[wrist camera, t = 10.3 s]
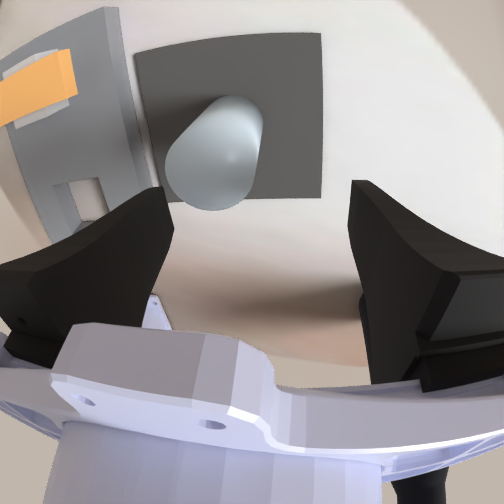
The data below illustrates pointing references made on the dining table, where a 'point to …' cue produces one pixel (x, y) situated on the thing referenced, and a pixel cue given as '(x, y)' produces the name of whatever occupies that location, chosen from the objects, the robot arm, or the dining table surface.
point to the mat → (252, 87)
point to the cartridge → (217, 155)
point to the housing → (80, 124)
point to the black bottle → (420, 486)
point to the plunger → (37, 86)
